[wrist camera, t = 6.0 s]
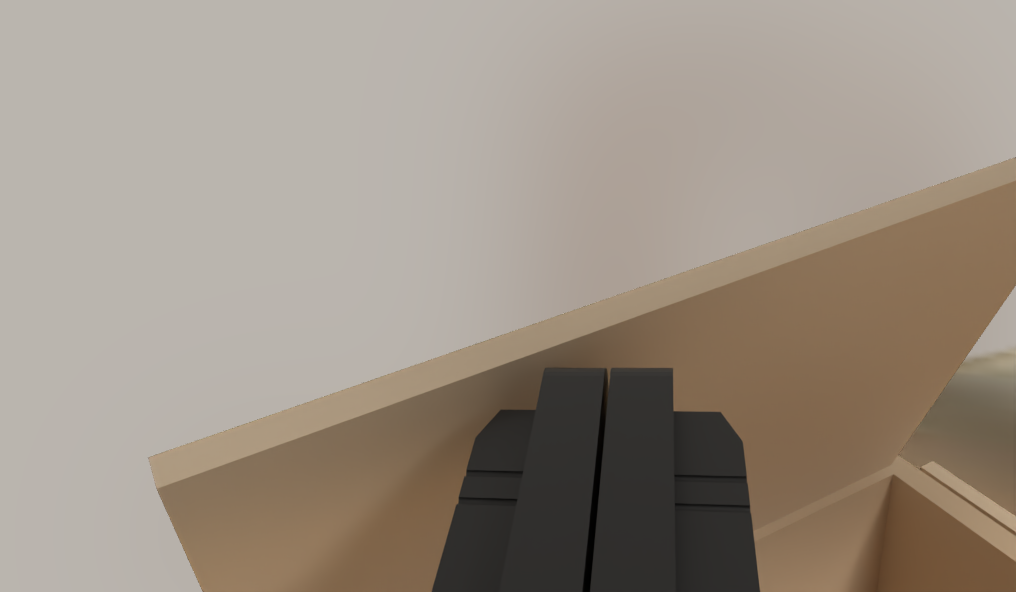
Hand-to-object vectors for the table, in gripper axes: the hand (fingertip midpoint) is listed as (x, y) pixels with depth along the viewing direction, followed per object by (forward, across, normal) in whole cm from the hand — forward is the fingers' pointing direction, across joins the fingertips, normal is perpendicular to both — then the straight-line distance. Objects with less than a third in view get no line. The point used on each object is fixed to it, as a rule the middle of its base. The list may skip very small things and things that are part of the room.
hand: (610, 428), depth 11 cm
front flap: (+3, -1, +3) cm, 4 cm away
